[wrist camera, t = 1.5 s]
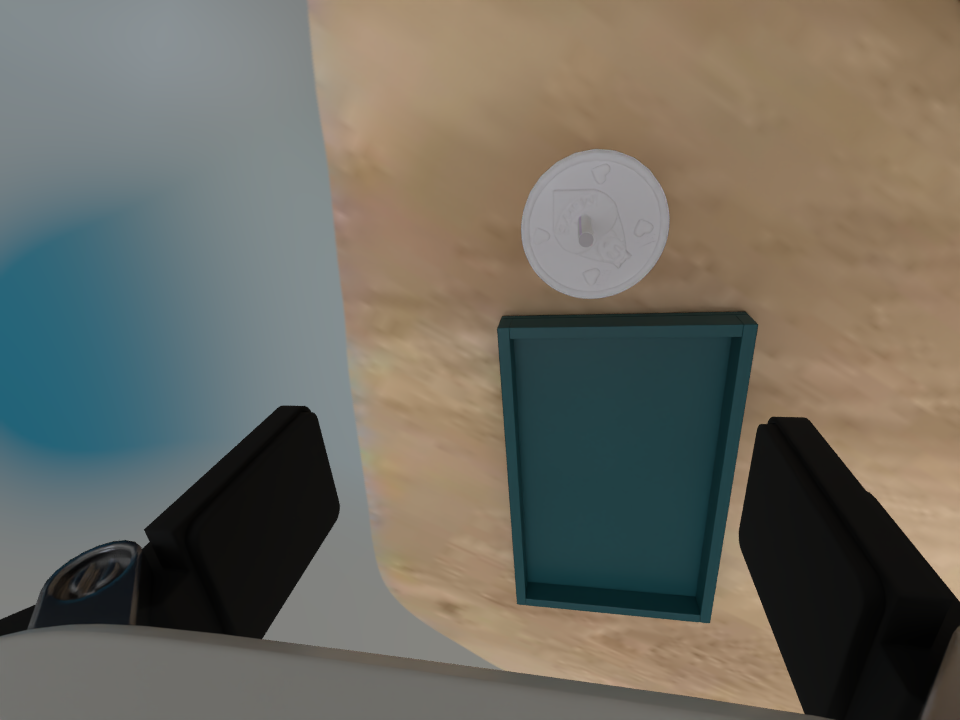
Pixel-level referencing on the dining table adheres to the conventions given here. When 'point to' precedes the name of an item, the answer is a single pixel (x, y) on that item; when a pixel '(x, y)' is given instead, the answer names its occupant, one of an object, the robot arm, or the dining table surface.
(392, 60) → the dining table surface
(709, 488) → the tray
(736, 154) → the dining table surface
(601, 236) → the smoothie
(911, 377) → the dining table surface
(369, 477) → the dining table surface
